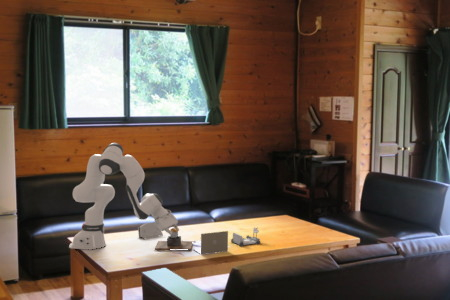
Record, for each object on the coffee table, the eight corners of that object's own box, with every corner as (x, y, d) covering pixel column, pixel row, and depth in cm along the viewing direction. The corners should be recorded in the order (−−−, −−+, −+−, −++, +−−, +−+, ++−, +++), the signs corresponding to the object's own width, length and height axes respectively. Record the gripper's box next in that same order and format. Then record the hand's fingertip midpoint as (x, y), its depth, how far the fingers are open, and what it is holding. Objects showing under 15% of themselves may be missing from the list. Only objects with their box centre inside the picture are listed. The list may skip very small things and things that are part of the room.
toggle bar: (170, 245, 381) (170, 229, 380) (172, 243, 384) (172, 228, 383) (175, 245, 379) (175, 229, 378) (177, 244, 383) (177, 228, 382)
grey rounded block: (142, 239, 401) (139, 224, 403) (139, 240, 405) (136, 225, 406) (163, 235, 413) (160, 220, 414) (159, 236, 416) (156, 221, 418)
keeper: (154, 250, 373) (154, 240, 372) (158, 243, 391) (158, 234, 390) (190, 251, 373) (190, 241, 372) (192, 243, 391) (192, 234, 390)
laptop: (218, 247, 384) (219, 226, 382) (227, 252, 372) (228, 231, 371) (192, 250, 376) (192, 229, 374) (201, 255, 364) (201, 233, 363)
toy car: (255, 225, 402) (264, 229, 392) (254, 240, 403) (263, 244, 393) (231, 228, 394) (239, 232, 384) (230, 243, 395) (239, 247, 385)
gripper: (156, 215, 372) (171, 232, 370) (171, 209, 391) (184, 225, 389) (150, 222, 374) (164, 239, 372) (164, 215, 393) (178, 232, 391)
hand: (175, 232), depth 381 cm, fingers open, 8 cm apart
